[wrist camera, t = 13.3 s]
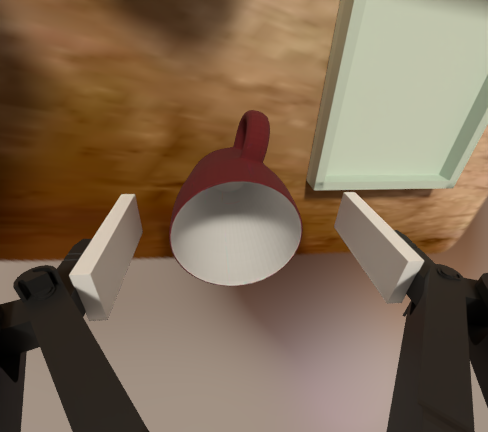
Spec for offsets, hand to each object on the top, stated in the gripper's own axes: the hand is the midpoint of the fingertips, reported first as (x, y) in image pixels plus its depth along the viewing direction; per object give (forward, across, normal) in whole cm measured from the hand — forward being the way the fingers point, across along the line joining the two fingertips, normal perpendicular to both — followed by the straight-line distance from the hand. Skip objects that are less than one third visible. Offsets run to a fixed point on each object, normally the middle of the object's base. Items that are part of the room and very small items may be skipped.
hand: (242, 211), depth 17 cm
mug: (+8, 0, 0) cm, 8 cm away
